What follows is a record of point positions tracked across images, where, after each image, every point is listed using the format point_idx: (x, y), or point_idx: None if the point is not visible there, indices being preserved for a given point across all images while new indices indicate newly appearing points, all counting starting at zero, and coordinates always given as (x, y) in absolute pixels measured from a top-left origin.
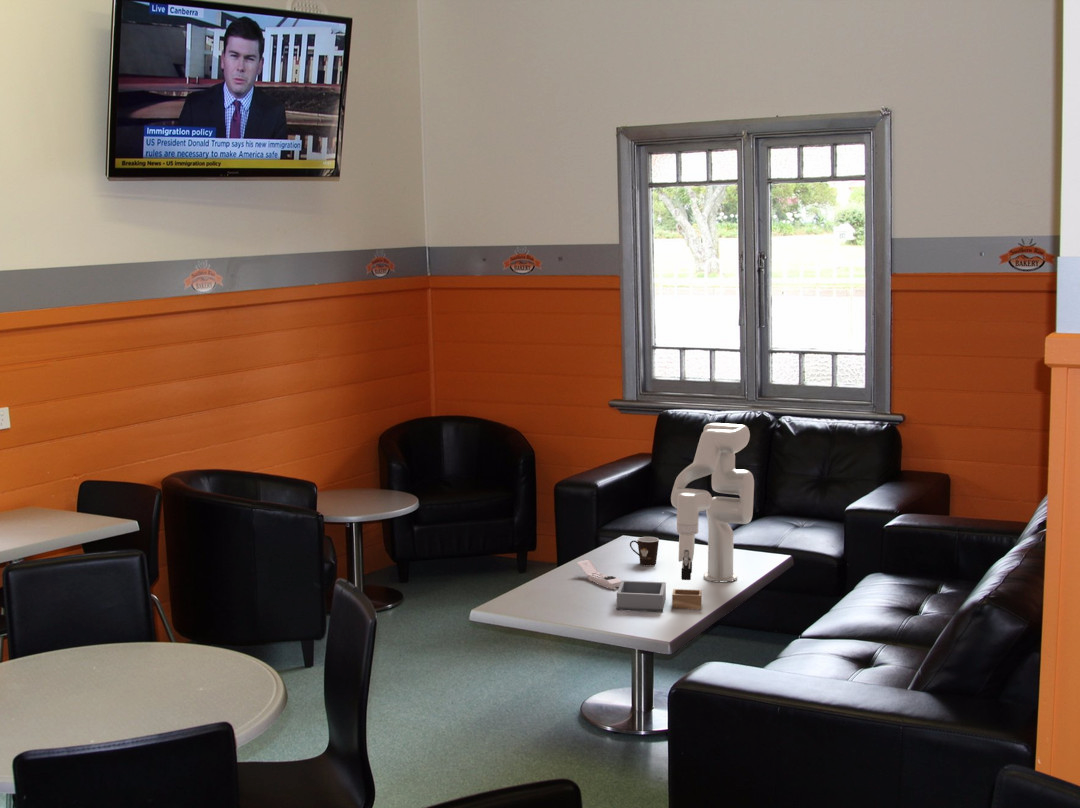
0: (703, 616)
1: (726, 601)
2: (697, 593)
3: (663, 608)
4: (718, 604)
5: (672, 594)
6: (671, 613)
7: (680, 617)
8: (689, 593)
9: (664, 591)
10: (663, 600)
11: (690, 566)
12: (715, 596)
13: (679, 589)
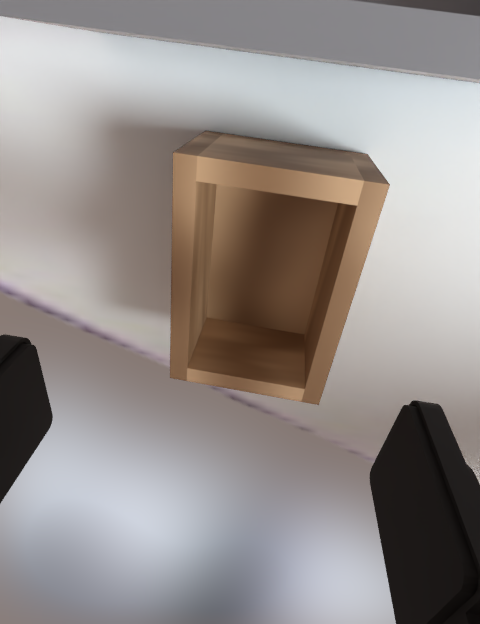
0: (77, 313)
1: (348, 448)
2: (307, 362)
3: (199, 45)
4: (298, 410)
5: (181, 155)
6: (83, 114)
7: (14, 177)
8: (321, 310)
9: (336, 61)
10: (169, 40)
11: (391, 560)
12: (453, 424)
13: (359, 246)
